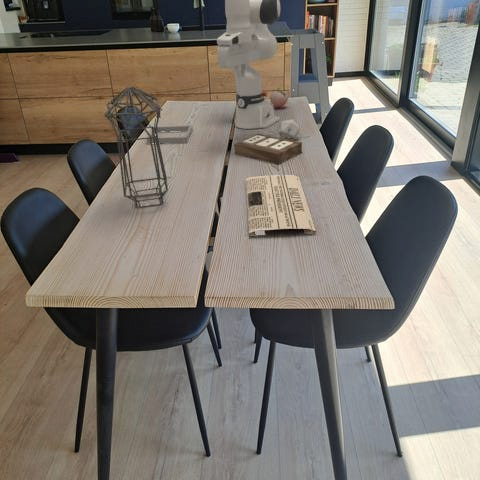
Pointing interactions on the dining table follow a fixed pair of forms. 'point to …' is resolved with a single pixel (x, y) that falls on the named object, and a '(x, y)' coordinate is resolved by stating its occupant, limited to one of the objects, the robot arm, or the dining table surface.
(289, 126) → the grey rock
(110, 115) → the geometric lantern
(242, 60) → the robot arm
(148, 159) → the dining table surface
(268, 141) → the button one
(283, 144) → the button two
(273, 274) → the dining table surface
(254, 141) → the button three
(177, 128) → the frame
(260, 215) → the newspaper
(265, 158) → the button panel
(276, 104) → the decorative fruit
